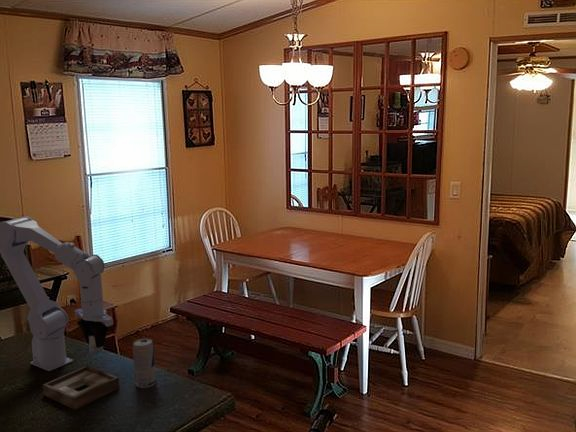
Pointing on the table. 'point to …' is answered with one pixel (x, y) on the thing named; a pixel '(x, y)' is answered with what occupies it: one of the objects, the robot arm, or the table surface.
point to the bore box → (87, 375)
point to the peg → (93, 345)
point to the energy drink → (144, 363)
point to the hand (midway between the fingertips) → (95, 345)
